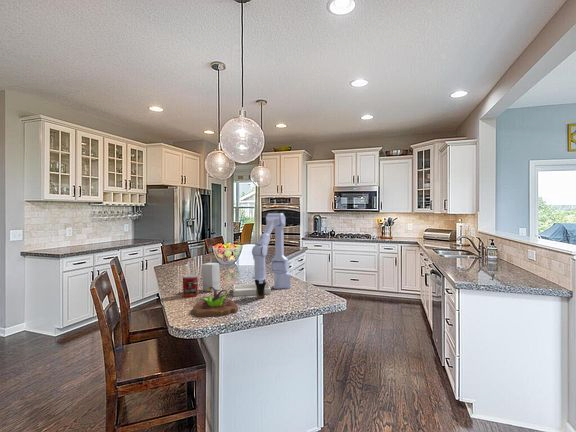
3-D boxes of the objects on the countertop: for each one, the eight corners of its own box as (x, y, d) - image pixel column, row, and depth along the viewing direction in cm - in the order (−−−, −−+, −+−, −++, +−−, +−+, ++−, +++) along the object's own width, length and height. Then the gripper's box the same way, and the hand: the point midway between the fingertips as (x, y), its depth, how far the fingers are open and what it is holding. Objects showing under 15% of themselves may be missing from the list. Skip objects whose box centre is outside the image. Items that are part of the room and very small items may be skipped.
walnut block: (264, 296, 165) (263, 285, 165) (264, 298, 161) (264, 286, 161) (256, 296, 164) (256, 285, 164) (256, 298, 160) (256, 287, 160)
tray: (268, 287, 183) (268, 283, 183) (270, 293, 170) (270, 288, 170) (234, 289, 180) (233, 285, 180) (233, 296, 167) (233, 290, 167)
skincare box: (220, 289, 181) (220, 263, 181) (212, 292, 175) (211, 264, 175) (210, 288, 185) (209, 262, 185) (201, 290, 180) (201, 263, 180)
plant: (192, 307, 149) (191, 283, 149) (233, 302, 156) (232, 280, 156) (193, 320, 131) (192, 293, 130) (240, 314, 137) (239, 289, 137)
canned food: (182, 298, 164) (182, 277, 164) (183, 294, 172) (183, 274, 172) (197, 297, 166) (197, 276, 166) (198, 293, 174) (197, 273, 174)
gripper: (251, 266, 169) (252, 291, 169) (252, 271, 155) (253, 298, 155) (264, 265, 170) (265, 290, 170) (267, 270, 156) (267, 297, 156)
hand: (260, 294), depth 163 cm, fingers closed on walnut block, 4 cm apart
